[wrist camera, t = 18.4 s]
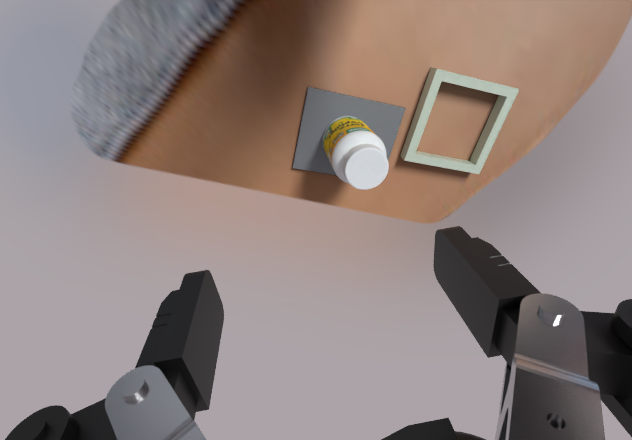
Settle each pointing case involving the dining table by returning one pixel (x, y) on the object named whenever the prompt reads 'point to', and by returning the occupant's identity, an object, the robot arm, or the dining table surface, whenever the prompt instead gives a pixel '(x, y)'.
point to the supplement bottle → (355, 152)
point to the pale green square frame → (488, 132)
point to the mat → (328, 108)
